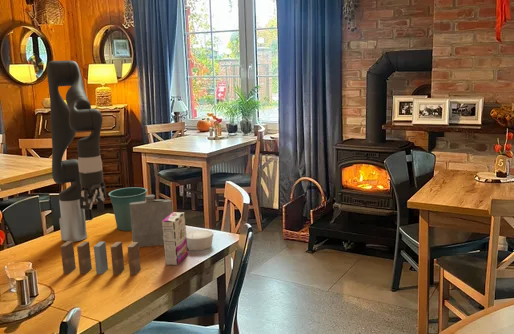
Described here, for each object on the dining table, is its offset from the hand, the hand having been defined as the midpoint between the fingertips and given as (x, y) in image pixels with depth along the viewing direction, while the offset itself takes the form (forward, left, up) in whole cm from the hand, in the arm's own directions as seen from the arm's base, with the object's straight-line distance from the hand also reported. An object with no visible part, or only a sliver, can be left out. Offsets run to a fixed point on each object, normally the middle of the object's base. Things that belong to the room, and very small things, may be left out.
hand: (95, 216), depth 177 cm
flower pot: (-8, +50, -20) cm, 55 cm away
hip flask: (+10, +28, -20) cm, 36 cm away
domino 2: (-5, 0, -20) cm, 21 cm away
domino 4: (+7, 0, -20) cm, 21 cm away
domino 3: (+1, 0, -20) cm, 20 cm away
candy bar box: (+24, +12, -20) cm, 33 cm away
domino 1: (-11, 0, -20) cm, 23 cm away
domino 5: (+13, 0, -20) cm, 24 cm away
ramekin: (+29, +26, -20) cm, 44 cm away
